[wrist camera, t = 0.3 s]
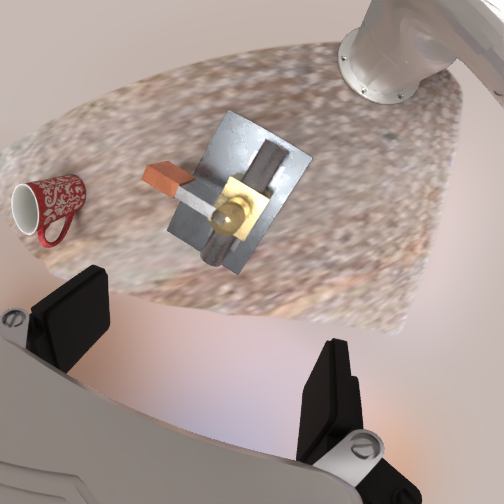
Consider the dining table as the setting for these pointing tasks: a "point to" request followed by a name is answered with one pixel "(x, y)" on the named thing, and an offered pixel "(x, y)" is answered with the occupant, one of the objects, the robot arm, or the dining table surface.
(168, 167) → the lever
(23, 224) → the mug
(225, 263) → the valve
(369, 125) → the dining table surface
